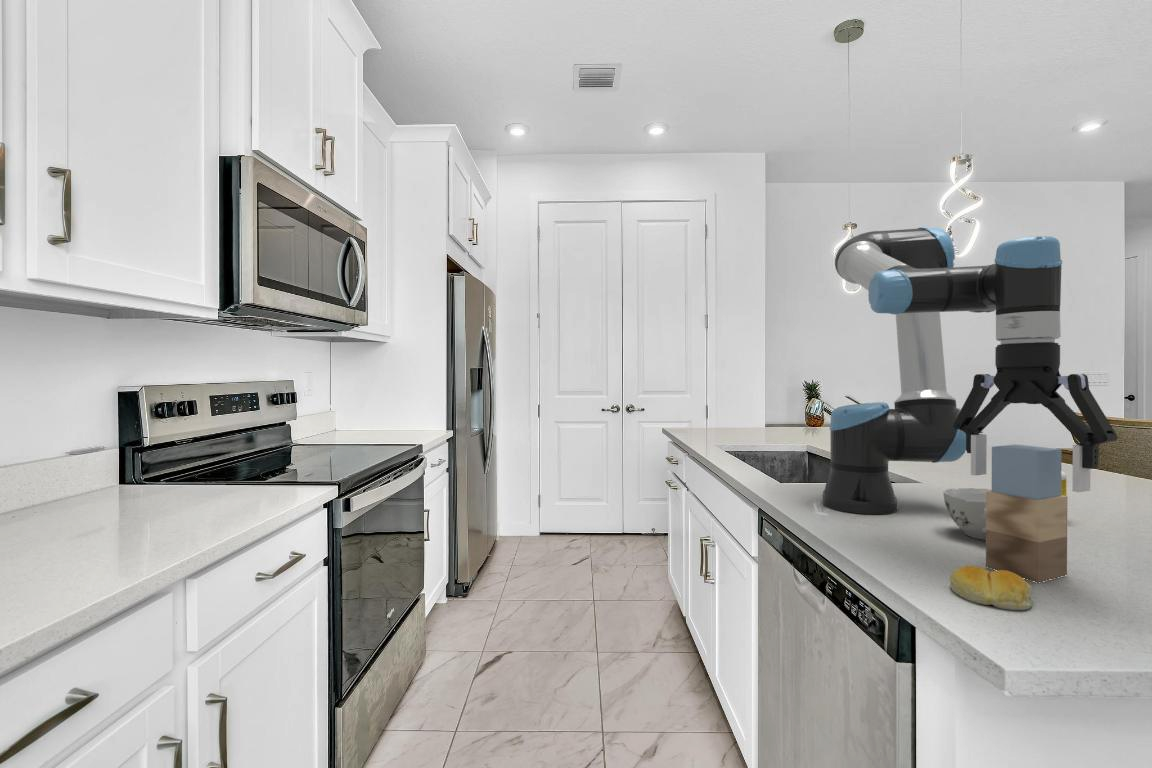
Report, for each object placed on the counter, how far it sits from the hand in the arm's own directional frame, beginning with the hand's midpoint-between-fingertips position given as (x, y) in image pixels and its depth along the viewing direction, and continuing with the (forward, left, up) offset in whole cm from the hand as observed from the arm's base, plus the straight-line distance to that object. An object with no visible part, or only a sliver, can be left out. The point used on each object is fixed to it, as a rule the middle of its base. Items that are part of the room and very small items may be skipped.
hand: (1026, 482), depth 82 cm
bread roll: (+4, -14, -14) cm, 21 cm away
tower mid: (0, 0, -8) cm, 8 cm away
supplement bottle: (-16, +36, -14) cm, 42 cm away
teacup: (-13, +12, -14) cm, 23 cm away
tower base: (0, 0, -14) cm, 14 cm away
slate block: (0, 0, -2) cm, 2 cm away
